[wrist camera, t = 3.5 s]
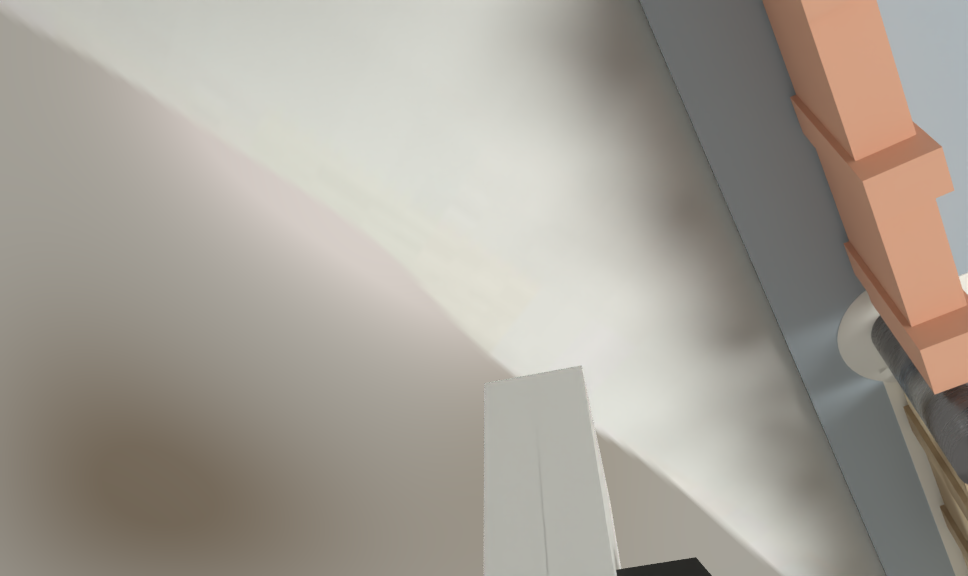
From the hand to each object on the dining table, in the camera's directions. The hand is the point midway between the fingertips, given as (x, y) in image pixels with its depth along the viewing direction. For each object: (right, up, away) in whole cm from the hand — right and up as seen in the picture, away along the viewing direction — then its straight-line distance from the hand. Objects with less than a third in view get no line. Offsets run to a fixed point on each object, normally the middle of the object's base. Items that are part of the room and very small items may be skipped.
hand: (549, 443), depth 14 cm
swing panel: (+7, +7, +7) cm, 12 cm away
